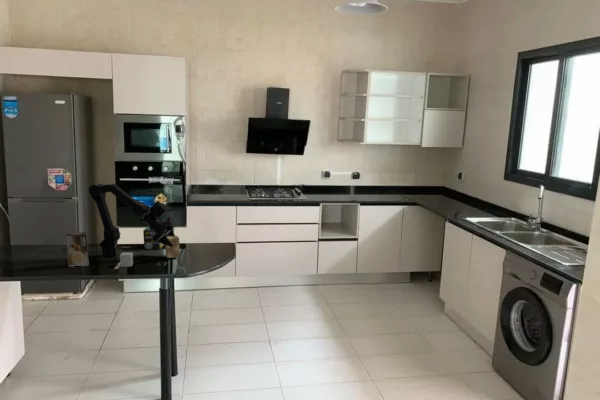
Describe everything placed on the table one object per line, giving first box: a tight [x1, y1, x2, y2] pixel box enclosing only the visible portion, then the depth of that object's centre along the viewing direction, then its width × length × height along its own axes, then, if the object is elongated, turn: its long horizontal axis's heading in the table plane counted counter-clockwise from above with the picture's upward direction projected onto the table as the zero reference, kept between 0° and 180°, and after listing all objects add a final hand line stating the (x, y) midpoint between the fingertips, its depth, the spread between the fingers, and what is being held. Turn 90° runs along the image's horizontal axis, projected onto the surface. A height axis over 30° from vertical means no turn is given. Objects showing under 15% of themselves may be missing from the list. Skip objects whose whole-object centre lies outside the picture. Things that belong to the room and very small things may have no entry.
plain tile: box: [114, 262, 121, 270], centre depth 238 cm, size 10×10×1 cm
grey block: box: [119, 251, 134, 268], centre depth 238 cm, size 5×5×6 cm
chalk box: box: [142, 225, 165, 250], centre depth 274 cm, size 9×9×15 cm
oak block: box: [165, 235, 181, 259], centre depth 251 cm, size 6×6×10 cm
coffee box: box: [65, 232, 90, 268], centre depth 237 cm, size 9×6×16 cm
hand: (175, 244), depth 251 cm, fingers closed on oak block, 8 cm apart
